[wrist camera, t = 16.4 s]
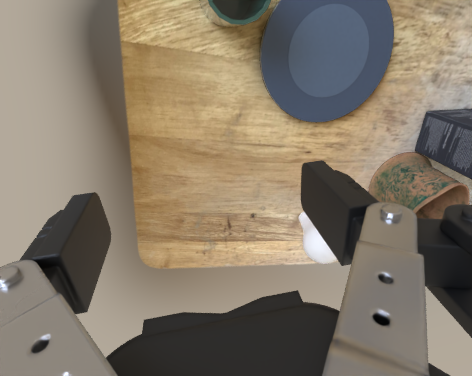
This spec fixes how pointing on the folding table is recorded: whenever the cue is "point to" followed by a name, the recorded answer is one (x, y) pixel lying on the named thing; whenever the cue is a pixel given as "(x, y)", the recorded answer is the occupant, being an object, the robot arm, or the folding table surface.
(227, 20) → the cup
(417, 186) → the mug
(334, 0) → the plate
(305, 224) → the lightbulb
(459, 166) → the small box
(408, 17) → the folding table surface
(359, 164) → the folding table surface
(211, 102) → the folding table surface
